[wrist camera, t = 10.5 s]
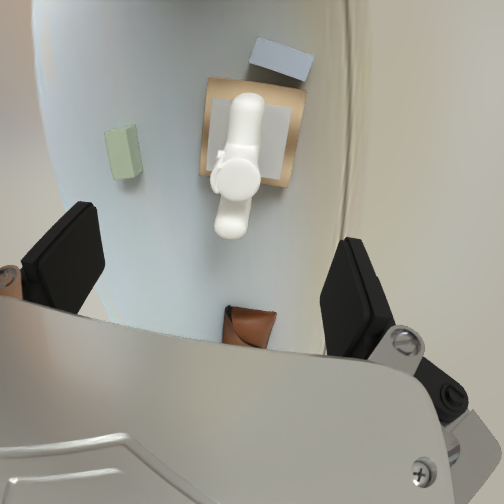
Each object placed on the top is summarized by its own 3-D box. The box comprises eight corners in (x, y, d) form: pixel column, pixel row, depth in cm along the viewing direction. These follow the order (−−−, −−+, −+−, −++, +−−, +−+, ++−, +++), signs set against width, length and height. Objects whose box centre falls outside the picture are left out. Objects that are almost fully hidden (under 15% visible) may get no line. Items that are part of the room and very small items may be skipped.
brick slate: (250, 63, 29) (248, 62, 26) (258, 39, 27) (257, 36, 24) (301, 81, 29) (304, 81, 27) (311, 57, 28) (314, 56, 25)
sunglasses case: (264, 372, 58) (245, 394, 53) (235, 355, 61) (215, 376, 56) (278, 310, 48) (255, 335, 43) (242, 291, 51) (217, 313, 46)
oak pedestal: (213, 77, 29) (208, 78, 27) (303, 89, 30) (306, 91, 27) (204, 167, 36) (199, 175, 33) (286, 178, 36) (288, 188, 33)
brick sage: (115, 128, 33) (104, 133, 31) (136, 124, 33) (125, 129, 30) (123, 171, 36) (113, 180, 34) (143, 169, 36) (134, 177, 34)
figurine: (291, 93, 28) (309, 112, 15) (277, 177, 33) (281, 255, 20) (219, 84, 27) (177, 97, 15) (211, 169, 33) (174, 241, 20)
